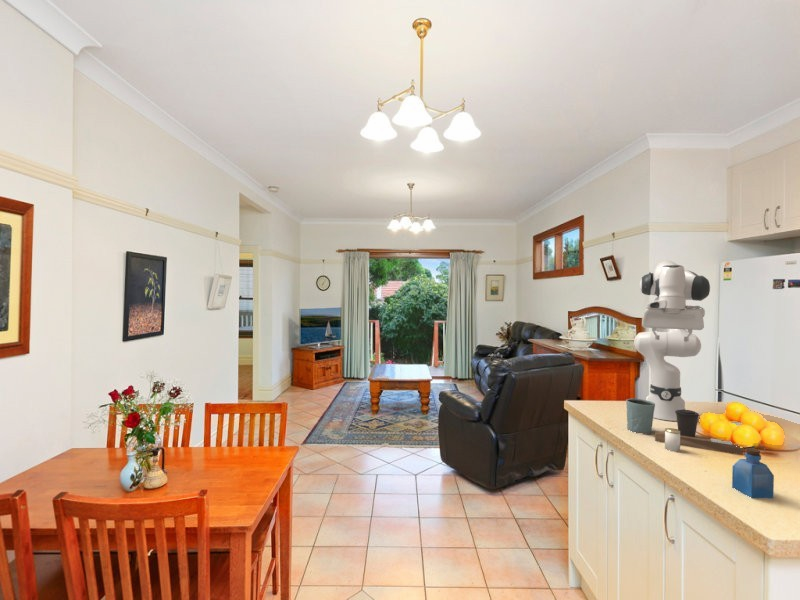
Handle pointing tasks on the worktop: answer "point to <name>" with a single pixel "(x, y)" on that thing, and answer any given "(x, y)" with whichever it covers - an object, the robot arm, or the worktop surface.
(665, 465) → the worktop surface
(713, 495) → the worktop surface
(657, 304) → the robot arm
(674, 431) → the round canister
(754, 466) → the perfume bottle
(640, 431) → the grey-green plant pot
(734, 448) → the walnut fence
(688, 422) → the coffee cup
